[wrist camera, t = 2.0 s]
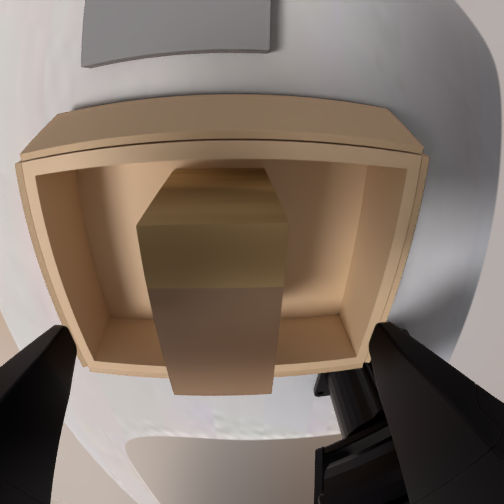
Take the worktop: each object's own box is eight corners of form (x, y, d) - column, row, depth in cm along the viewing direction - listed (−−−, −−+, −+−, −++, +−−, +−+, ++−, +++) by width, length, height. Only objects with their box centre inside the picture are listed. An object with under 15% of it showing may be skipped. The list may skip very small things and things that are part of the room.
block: (258, 303, 17) (271, 393, 11) (186, 305, 16) (174, 394, 11) (264, 168, 13) (289, 223, 8) (173, 169, 13) (135, 225, 8)
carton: (359, 331, 19) (379, 376, 16) (93, 335, 18) (75, 381, 14) (405, 112, 12) (456, 124, 9) (41, 118, 11) (-9, 132, 8)
